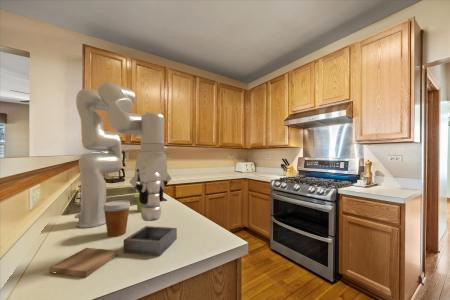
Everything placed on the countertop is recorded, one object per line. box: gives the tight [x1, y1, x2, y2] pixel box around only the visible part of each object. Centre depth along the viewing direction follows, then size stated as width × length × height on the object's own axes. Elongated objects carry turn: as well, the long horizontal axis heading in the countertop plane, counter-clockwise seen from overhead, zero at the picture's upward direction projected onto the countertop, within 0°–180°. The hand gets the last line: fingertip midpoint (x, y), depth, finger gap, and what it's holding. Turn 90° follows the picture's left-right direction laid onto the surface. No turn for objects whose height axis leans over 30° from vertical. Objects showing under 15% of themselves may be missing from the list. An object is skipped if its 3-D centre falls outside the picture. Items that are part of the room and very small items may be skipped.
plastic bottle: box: [140, 173, 162, 222], centre depth 68 cm, size 6×7×20 cm
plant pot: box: [134, 193, 143, 213], centre depth 109 cm, size 9×9×9 cm
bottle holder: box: [123, 225, 178, 257], centre depth 67 cm, size 12×12×4 cm
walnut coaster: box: [49, 247, 118, 278], centre depth 56 cm, size 11×11×2 cm
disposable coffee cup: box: [103, 199, 131, 238], centre depth 77 cm, size 10×10×12 cm
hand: (151, 201), depth 68 cm, fingers closed on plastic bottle, 5 cm apart
